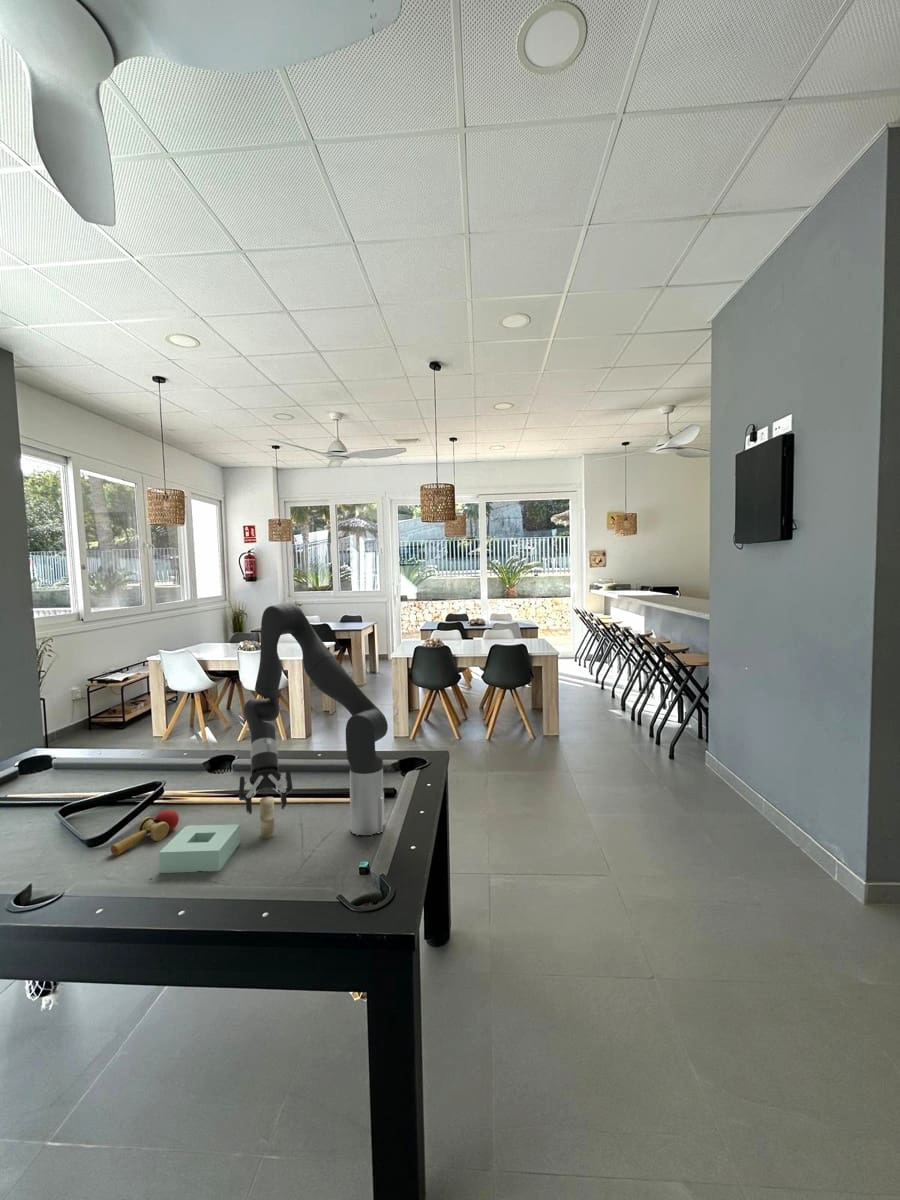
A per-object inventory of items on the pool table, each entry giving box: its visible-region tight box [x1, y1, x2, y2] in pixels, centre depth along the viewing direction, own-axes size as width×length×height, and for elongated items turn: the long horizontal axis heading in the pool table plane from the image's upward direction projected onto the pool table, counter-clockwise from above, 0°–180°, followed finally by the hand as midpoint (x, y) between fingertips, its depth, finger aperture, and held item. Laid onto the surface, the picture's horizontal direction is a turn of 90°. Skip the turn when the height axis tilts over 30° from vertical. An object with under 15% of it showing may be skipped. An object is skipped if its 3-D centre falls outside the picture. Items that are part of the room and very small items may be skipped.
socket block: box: [158, 824, 241, 874], centre depth 131 cm, size 14×14×5 cm
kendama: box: [110, 809, 180, 857], centre depth 140 cm, size 8×6×18 cm
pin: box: [259, 796, 275, 839], centre depth 142 cm, size 4×4×10 cm
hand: (267, 810), depth 143 cm, fingers open, 8 cm apart
